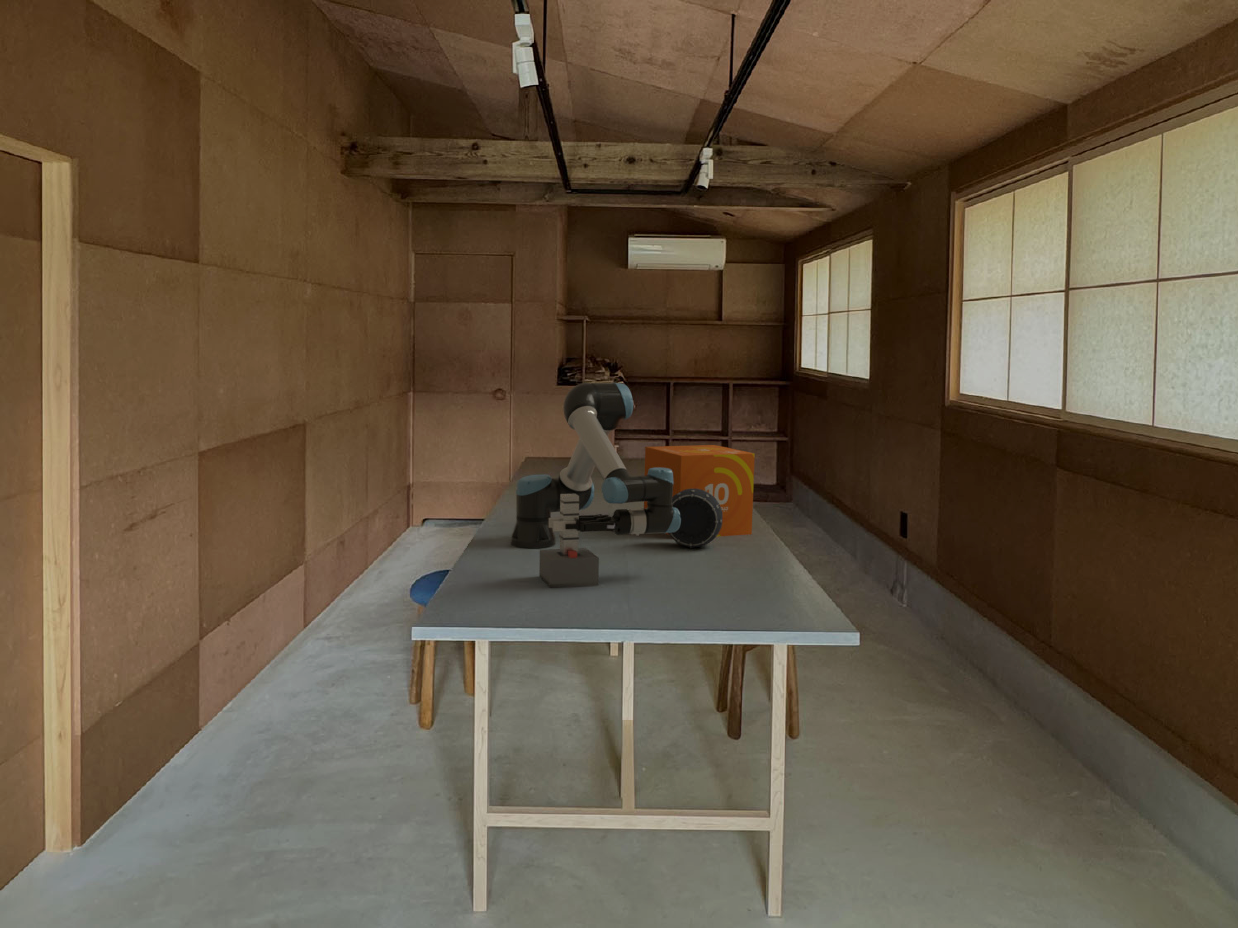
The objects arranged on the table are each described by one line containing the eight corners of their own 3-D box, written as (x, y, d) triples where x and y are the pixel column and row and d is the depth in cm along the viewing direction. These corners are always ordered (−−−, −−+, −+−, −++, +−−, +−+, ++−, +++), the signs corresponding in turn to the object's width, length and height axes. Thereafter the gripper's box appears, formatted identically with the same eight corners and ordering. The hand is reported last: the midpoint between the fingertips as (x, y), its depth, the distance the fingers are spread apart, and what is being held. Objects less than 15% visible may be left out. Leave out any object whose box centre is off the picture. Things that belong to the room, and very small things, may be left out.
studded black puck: (720, 551, 326) (722, 492, 323) (661, 547, 330) (662, 489, 327) (723, 545, 336) (725, 488, 334) (666, 541, 340) (667, 485, 338)
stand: (550, 587, 273) (551, 554, 272) (539, 576, 286) (539, 544, 285) (598, 585, 277) (599, 552, 276) (585, 573, 290) (585, 542, 289)
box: (678, 539, 345) (681, 455, 341) (643, 524, 372) (645, 446, 369) (751, 534, 357) (754, 453, 353) (712, 520, 384) (714, 444, 381)
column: (562, 575, 278) (563, 496, 276) (558, 571, 283) (559, 493, 280) (578, 574, 280) (579, 496, 277) (574, 571, 284) (575, 493, 281)
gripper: (637, 540, 277) (558, 543, 270) (619, 528, 294) (543, 531, 287) (638, 514, 276) (558, 517, 269) (619, 504, 293) (544, 506, 286)
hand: (551, 524), depth 278 cm, fingers closed on column, 5 cm apart
